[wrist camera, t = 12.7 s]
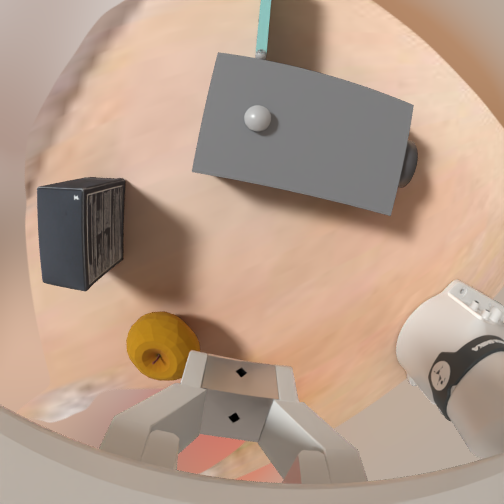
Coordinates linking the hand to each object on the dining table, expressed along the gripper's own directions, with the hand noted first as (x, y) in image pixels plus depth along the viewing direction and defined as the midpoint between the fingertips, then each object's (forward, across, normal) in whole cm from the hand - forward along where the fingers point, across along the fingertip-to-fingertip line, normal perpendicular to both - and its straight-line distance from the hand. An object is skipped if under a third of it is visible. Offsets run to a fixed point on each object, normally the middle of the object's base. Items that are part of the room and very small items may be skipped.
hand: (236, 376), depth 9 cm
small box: (+29, -18, -4) cm, 35 cm away
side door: (+29, -3, +23) cm, 37 cm away
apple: (+29, -7, -17) cm, 35 cm away
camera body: (+29, +5, +10) cm, 31 cm away
